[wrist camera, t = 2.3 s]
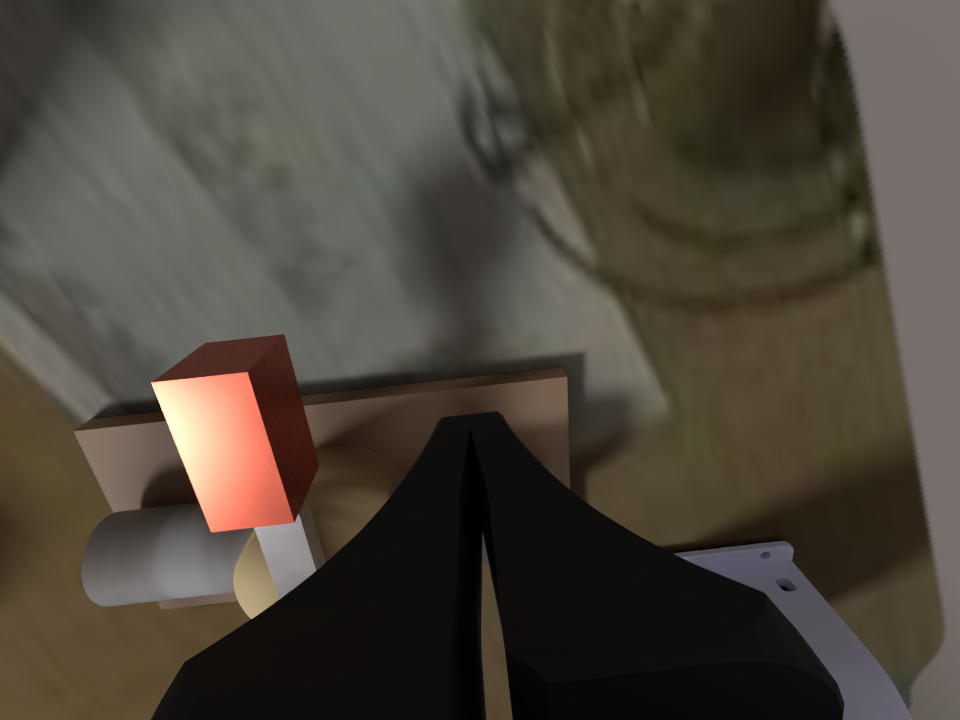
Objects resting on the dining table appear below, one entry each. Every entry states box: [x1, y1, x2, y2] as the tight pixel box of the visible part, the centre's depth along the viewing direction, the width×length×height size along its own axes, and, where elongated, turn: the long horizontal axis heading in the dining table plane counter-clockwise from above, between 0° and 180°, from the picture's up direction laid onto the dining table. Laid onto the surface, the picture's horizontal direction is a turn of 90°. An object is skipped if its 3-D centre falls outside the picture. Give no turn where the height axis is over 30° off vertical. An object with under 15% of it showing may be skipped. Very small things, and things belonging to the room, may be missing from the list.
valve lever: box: [151, 334, 326, 599], centre depth 14 cm, size 10×2×3 cm, turn 5°
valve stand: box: [74, 367, 570, 619], centre depth 20 cm, size 20×10×6 cm, turn 96°
